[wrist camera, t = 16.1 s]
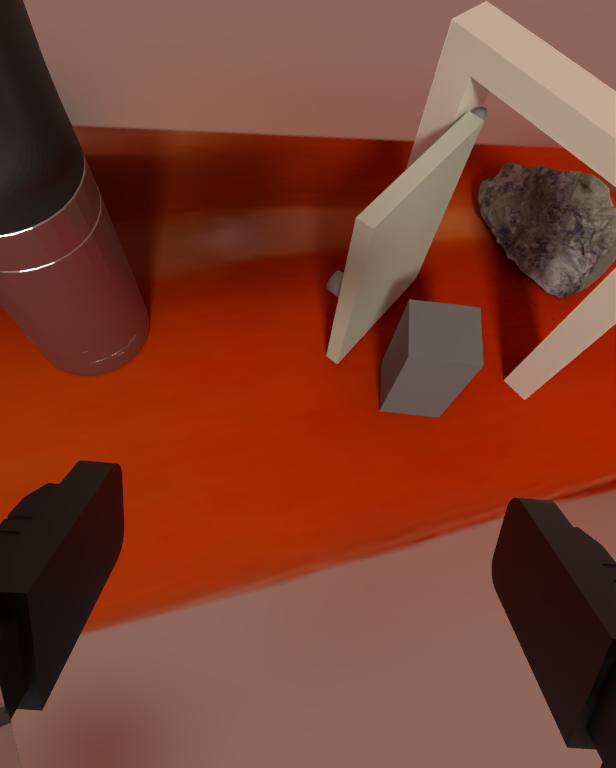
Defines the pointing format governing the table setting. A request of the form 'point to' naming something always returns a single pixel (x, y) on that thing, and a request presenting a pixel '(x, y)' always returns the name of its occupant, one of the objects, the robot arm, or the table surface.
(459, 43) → the door frame
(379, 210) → the door
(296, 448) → the table surface
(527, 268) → the mineral rock
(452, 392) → the block
